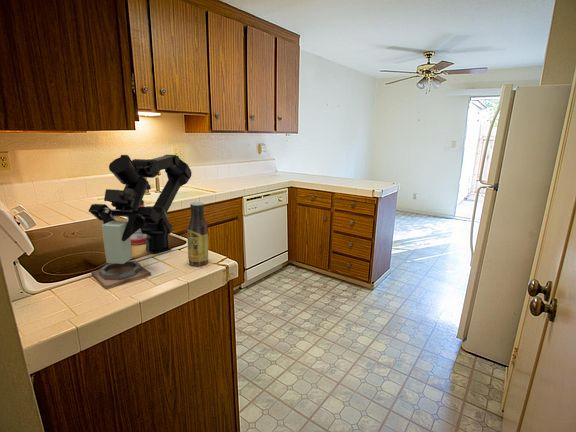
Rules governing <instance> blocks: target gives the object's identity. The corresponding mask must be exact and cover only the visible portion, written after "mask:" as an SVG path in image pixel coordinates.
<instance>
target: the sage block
mask: <svg viewBox="0 0 576 432" xmlns="http://www.w3.org/2000/svg"><path fill="white" fill-rule="evenodd" d="M127 223H128V222H127V221H122V220H121V221H120V220H116V221H111V222H108V223H106V224H103V223H102V224H101V232H102V238H103V239H102V240H103V247H104V253H105V261H106V262H105V263H106V264H109V263H117V264H124V263H125V262H127V261H131V259H133V250H132V243H131V238H130V237H129V238H128V239H127V240H126V241H122V236H123V233H124V231H125V228H126V226H127Z"/></svg>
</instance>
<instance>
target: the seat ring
mask: <svg viewBox="0 0 576 432" xmlns="http://www.w3.org/2000/svg"><path fill="white" fill-rule="evenodd" d="M121 266H133V267H134V269H132V270H130V271H126V272H123V273H107V272H108V271H109V270H110V269H114V268H118V267H121ZM141 266H142V264H141V263H139V262H138V261H136V260H128V261H127V262H125V263H124V264H117V263H106V264H105V265H104V266H103V267H101V268H99V269H98V270H99V275H100V276H101V277H102V278H103V279H104V280H122V279H125V278H129V277H132V276H135V275H136V274H137V273H138V272H139V271H140V270H141V269H142V268H141Z"/></svg>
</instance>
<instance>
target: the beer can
mask: <svg viewBox="0 0 576 432" xmlns="http://www.w3.org/2000/svg"><path fill="white" fill-rule="evenodd" d="M140 206H144V207H146V206H145V203H144V204H143V205H140ZM140 206H139V207H140ZM126 222H128V217H126ZM130 238H131V245H134V246H136V245H137V246H138V245H143V244H146V240H145V239H146V238H147V235H146V234H142V232H141V229H139V230H137V231H136V232H135V233H134V234H132V235H131V236H130Z"/></svg>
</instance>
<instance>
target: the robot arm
mask: <svg viewBox="0 0 576 432" xmlns="http://www.w3.org/2000/svg"><path fill="white" fill-rule="evenodd" d="M108 169H109V171H110V172H111V173H112V174H113V176H114V177H115V178H116V179H117V180H118V181H119V182H120V183H121V184H122V185H124V188H123V190H122V189H121V190H120V189H107V188H106V189H105V193H104V197H103V198H104V199H103V201H104V202H109V203H111V206H112V207H113V208H114V209H113V208H110V207H109V206H108V205H107V204H104V203H92V204H91V205H90V207H89V209H88V213H90V214H91V215H92V216H94V218H96V219H97V220H99V221H100V222H102V225H103V224H106V223H108V222H111V221H117V220H116V217H122V218H127V217H128V223H127V226H126V228H125V231H124V233H123V236H122V241H126V240H127V239H128V238H129V237H130V236H131V235H132V234H134V233H135V232H136V231H137V230H139V229H141V232H142V234H146V235H147V238H146V239H145V240H146V242H145V250H147V251H148V252H150V254H151V253H152V255H153V254H154V255H155V254H159V253H162V252H166V251H170V250H172V248H171V247H170V246H169V235H171V234H172V232H173V231H172V230H173V225H172V224H171V223H170V222H169V217H168V215H167V213H168V211H169V210H170V207H171V205H172V204H173V201H174V200H175V197H176V195H177V194H178V192H179V189H180V188H181V187H183V186H184V185H186V184H187V183H188V182H189V180H190V179H191V177H192V174H193V173H192V170H191V168H190V166H189V164H188V163H186V162H185V161H183V160H182V159H181V158H180V156H178V155H177V154H165V155H162V156H158V157H154V158H152V159H147V158H146V159H144V158H143V159H142V158H133V159H131V158H130V156H129V155H128V154H121V155H120V156H119V157H117V158H115V159H113V160H112V162H110V163H109V165H108ZM163 170H164V172H165V173H166V177H167V182H166V183H165V185H164V187H163V188H162V190H161V192H160V194H159V196H158V197H157V200H156V201H155V203H154V205H152V206H145V201H144V200H143V198H144V196H145V194H146V191H147V190H151V189H152V187H151V185H150V182H149V180H147V179H148V178H150V179H151V178H152V179H154V178H156V176H158V175H159V174H160V171H163ZM146 178H147V179H146ZM143 204H144V206H145V207H144V206H140V205H143ZM139 206H140V207H139Z"/></svg>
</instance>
